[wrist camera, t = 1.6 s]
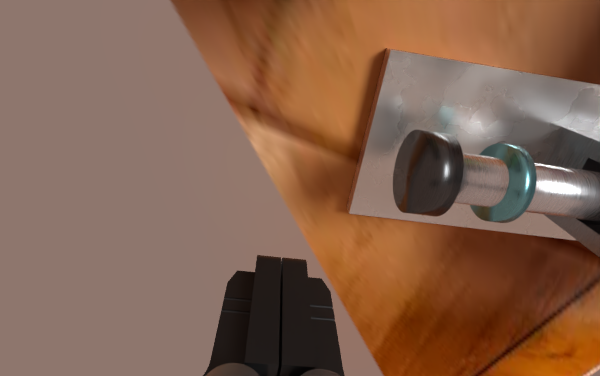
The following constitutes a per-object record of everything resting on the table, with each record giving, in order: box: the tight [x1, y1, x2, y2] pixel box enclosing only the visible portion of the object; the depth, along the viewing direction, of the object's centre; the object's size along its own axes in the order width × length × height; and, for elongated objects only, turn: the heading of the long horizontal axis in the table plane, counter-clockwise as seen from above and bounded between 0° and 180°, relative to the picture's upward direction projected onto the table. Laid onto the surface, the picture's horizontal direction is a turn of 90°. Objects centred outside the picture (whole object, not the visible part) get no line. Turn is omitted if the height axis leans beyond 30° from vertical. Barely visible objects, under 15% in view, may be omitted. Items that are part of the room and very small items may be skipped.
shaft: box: [393, 130, 600, 223], centre depth 22 cm, size 18×5×5 cm, turn 81°
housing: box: [347, 48, 600, 257], centre depth 24 cm, size 26×13×10 cm, turn 81°
